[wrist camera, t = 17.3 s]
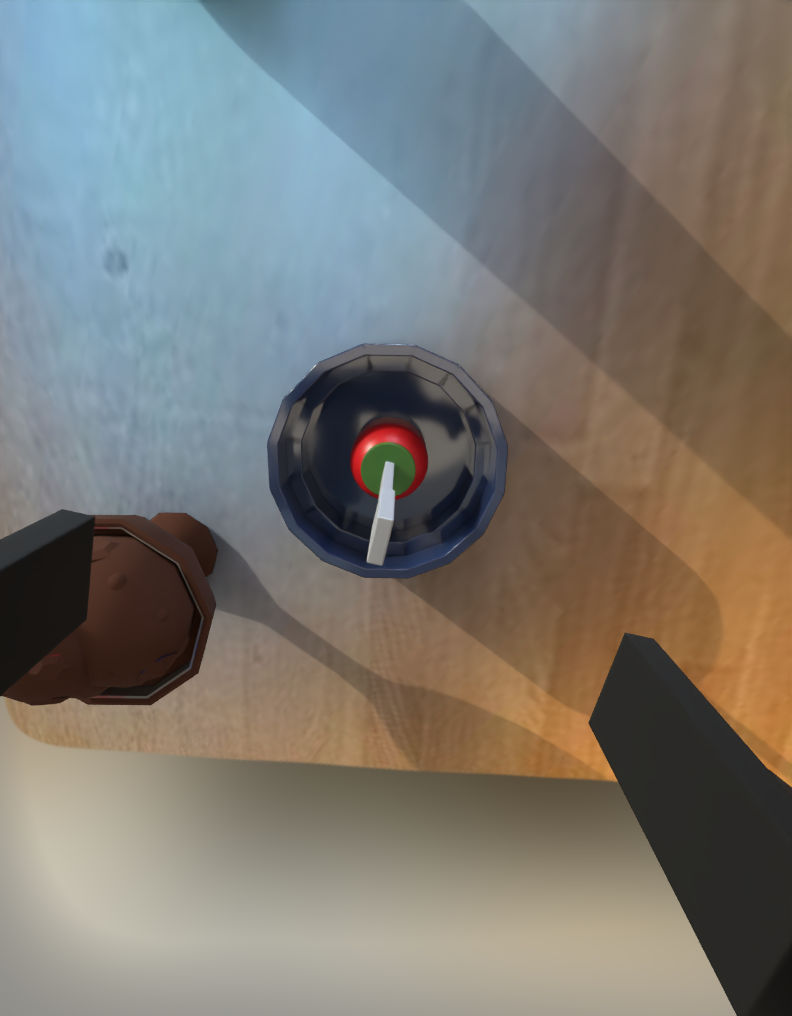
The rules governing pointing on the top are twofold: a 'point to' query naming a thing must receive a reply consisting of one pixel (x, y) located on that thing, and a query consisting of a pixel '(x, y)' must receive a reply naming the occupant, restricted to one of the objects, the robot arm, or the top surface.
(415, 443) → the red candy apple
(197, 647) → the ice cream bowl
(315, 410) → the dessert bowl
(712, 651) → the top surface
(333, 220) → the top surface
